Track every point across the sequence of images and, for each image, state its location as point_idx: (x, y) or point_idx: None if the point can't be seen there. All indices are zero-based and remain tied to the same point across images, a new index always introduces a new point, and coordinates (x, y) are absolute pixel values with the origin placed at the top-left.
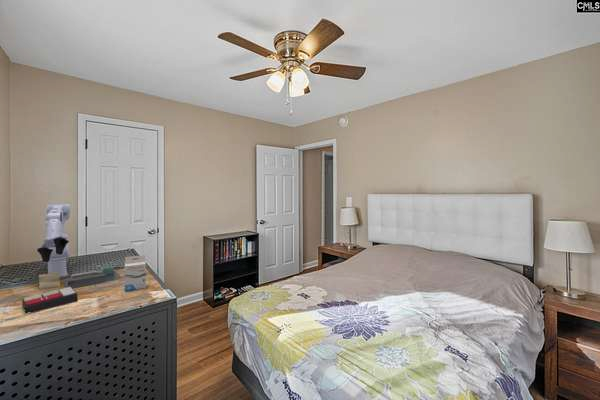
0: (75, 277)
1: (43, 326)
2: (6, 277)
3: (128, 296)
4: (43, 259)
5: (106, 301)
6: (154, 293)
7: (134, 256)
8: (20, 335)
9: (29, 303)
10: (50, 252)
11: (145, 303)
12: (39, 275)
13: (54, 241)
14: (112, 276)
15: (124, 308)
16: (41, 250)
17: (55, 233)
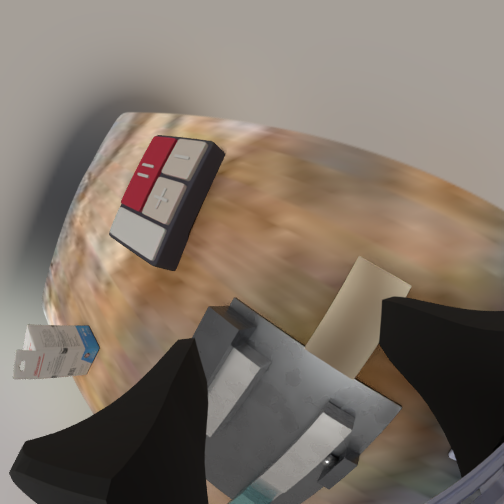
0: (316, 418)
1: (107, 150)
2: None
3: (73, 298)
4: (394, 301)
5: (85, 262)
6: (57, 322)
7: (14, 364)
8: (115, 125)
9: (154, 141)
10: (451, 431)
11: (51, 276)
12: (400, 280)
13: (109, 451)
14: (209, 462)
15: (60, 248)
16: (498, 330)
17: None
